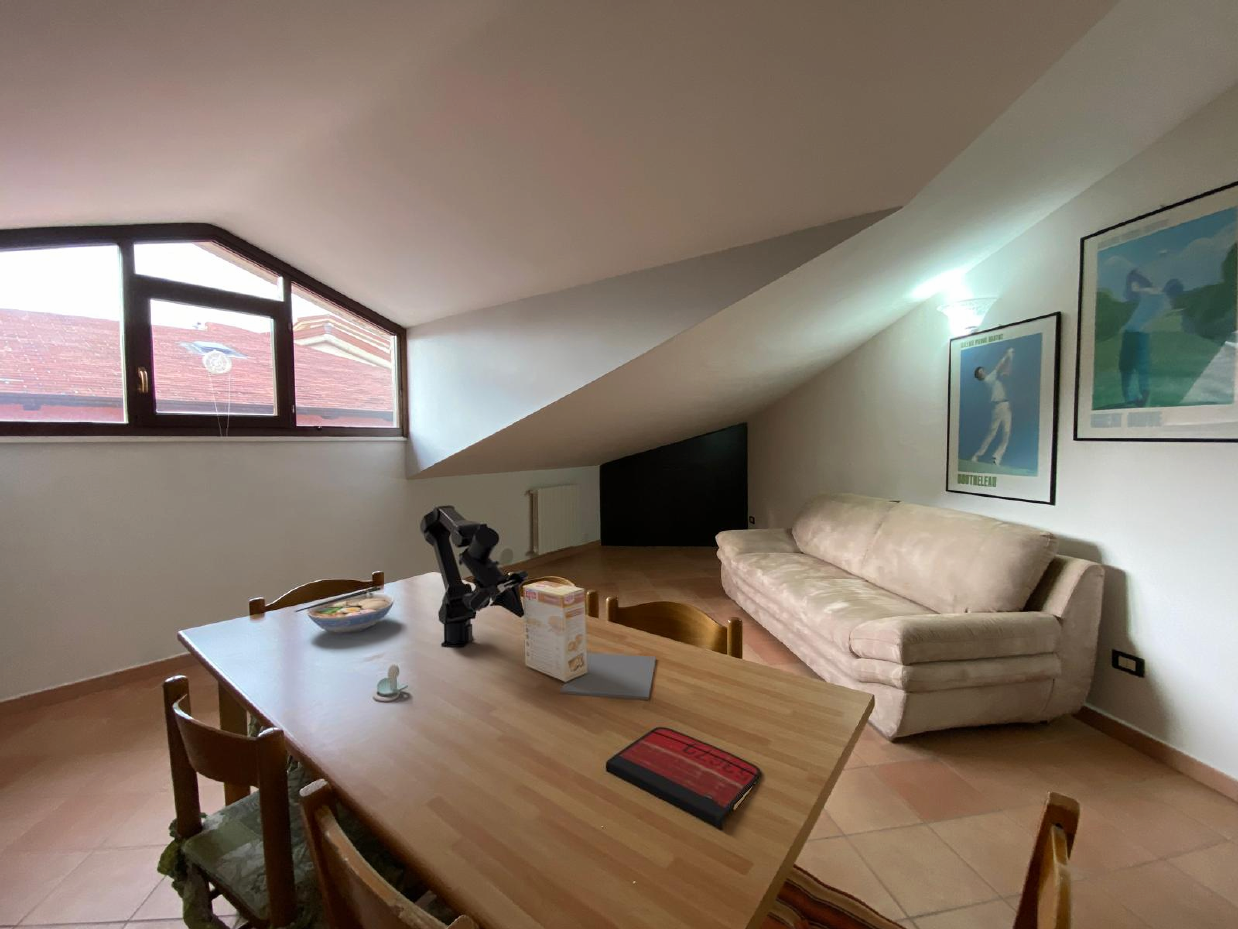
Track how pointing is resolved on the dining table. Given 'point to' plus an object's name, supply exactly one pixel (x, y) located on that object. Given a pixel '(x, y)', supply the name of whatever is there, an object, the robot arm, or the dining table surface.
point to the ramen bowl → (350, 611)
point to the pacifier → (387, 689)
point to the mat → (614, 677)
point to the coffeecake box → (555, 629)
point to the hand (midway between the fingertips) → (522, 616)
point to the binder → (685, 773)
